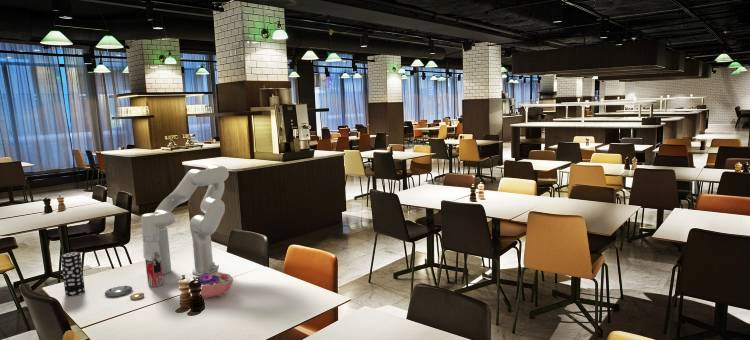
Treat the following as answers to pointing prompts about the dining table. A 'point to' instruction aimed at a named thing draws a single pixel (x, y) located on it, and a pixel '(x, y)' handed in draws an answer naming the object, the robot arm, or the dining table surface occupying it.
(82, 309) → the dining table surface
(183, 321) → the dining table surface
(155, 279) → the soda can
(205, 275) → the cell model
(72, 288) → the white-spotted black cylinder
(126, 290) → the disc
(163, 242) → the cylinder vase
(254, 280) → the dining table surface
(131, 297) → the disc
